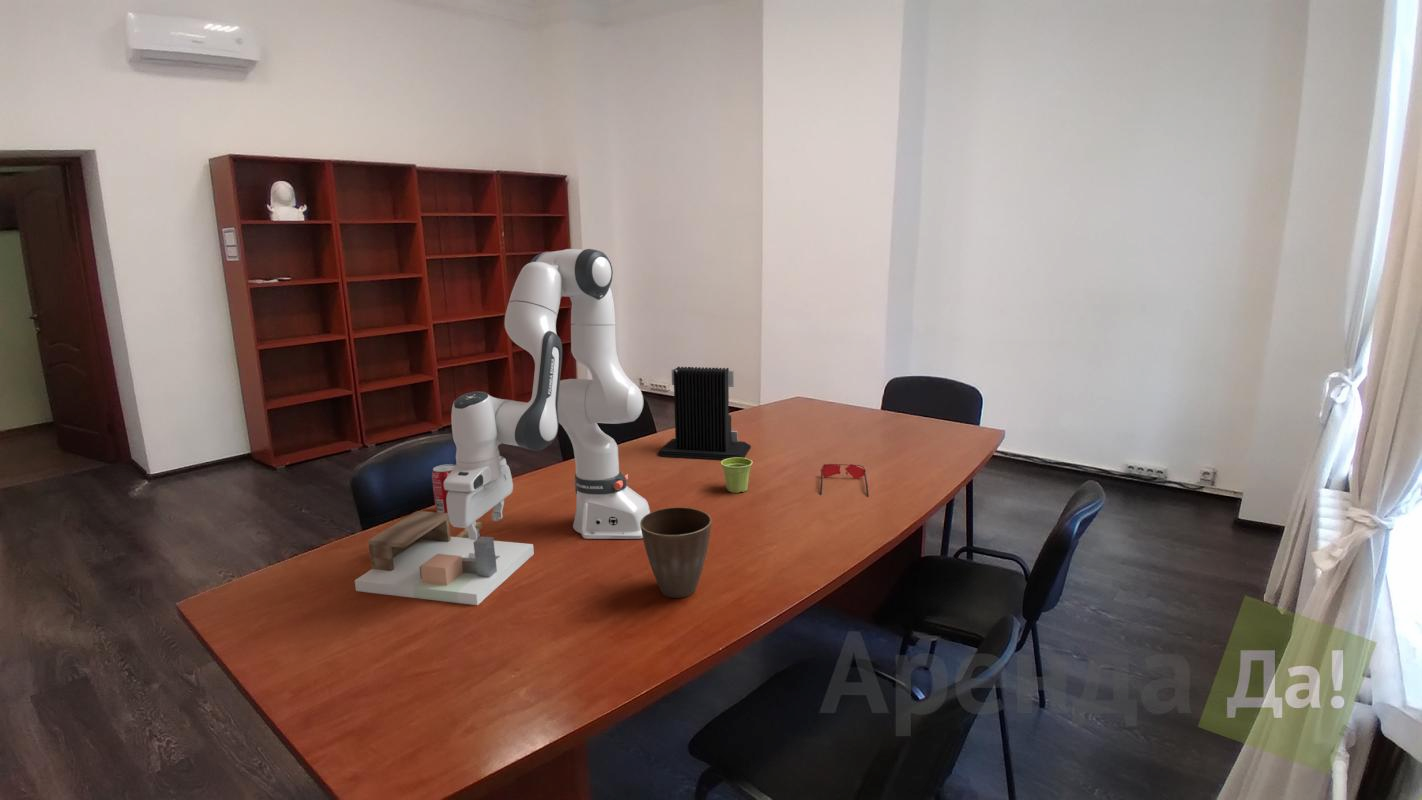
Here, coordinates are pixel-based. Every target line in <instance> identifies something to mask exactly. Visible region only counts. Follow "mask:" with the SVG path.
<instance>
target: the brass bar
mask: <svg viewBox="0 0 1422 800" xmlns="http://www.w3.org/2000/svg"><path fill="white" fill-rule="evenodd" d="M474 526H475V528H476V529H478V530H479V531H480V530H481V529H482V527H483V526H482V522H481V521H476V525H474ZM454 537H460V538H469V536H468V532H467V531H466V529H465V528H464V530H462V531H461V532H459V533H458V534H456V535H455V536H454Z"/></svg>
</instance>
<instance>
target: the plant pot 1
mask: <svg viewBox="0 0 1422 800" xmlns="http://www.w3.org/2000/svg"><path fill="white" fill-rule="evenodd" d="M640 526H641V531H642V536H643V538H642V539H643V544H644V548H645V552H646V555H647V558H648V562H649V565H650V568H651V570H652V574H653V576H654V578H655V581H656V584H657V585H658V588H659V589H660V591H661V593H662V595H664V596H665V597H668V598H672V599H673V598H674V599H675V598H676V599H680V598H685V597H689V596H691V595H692V594H693V593H695V592H696V588H697V587H698V584H699V581H700V578H701V576H702V572H703V568H704V565H705V561H706V557H707V552H708V548H709V547H708V546H709V542H710V535H711V528H712V517H711V516H710V515H709V514H708V513H706V512H705V511H703V510H701V509H696V508H692V507H691V508H690V507H668V508H661V509H657V510H654V511H652V512H651V511H650V513H649V514H647V515H646V516H644V517H643V518H642V519H641V522H640Z"/></svg>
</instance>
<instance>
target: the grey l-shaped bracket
mask: <svg viewBox="0 0 1422 800" xmlns="http://www.w3.org/2000/svg"><path fill="white" fill-rule="evenodd" d="M494 541H495V539H494V537H493V536H479V537H478V538H477V540H476V541H474V542H473V543H474V551H475V559H474V558H462V566H463V572H468V573H477V576H480V577H491V576H492V575H493V574H494V573H495V572H497V566H496V558H495V549H494ZM419 569H420V576H421V579H422V574H421V566H420V567H419Z"/></svg>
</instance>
